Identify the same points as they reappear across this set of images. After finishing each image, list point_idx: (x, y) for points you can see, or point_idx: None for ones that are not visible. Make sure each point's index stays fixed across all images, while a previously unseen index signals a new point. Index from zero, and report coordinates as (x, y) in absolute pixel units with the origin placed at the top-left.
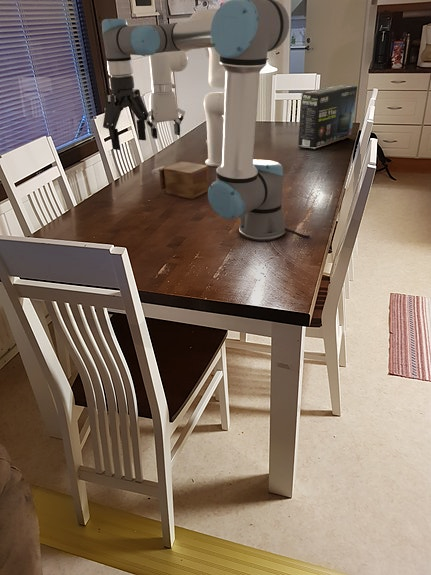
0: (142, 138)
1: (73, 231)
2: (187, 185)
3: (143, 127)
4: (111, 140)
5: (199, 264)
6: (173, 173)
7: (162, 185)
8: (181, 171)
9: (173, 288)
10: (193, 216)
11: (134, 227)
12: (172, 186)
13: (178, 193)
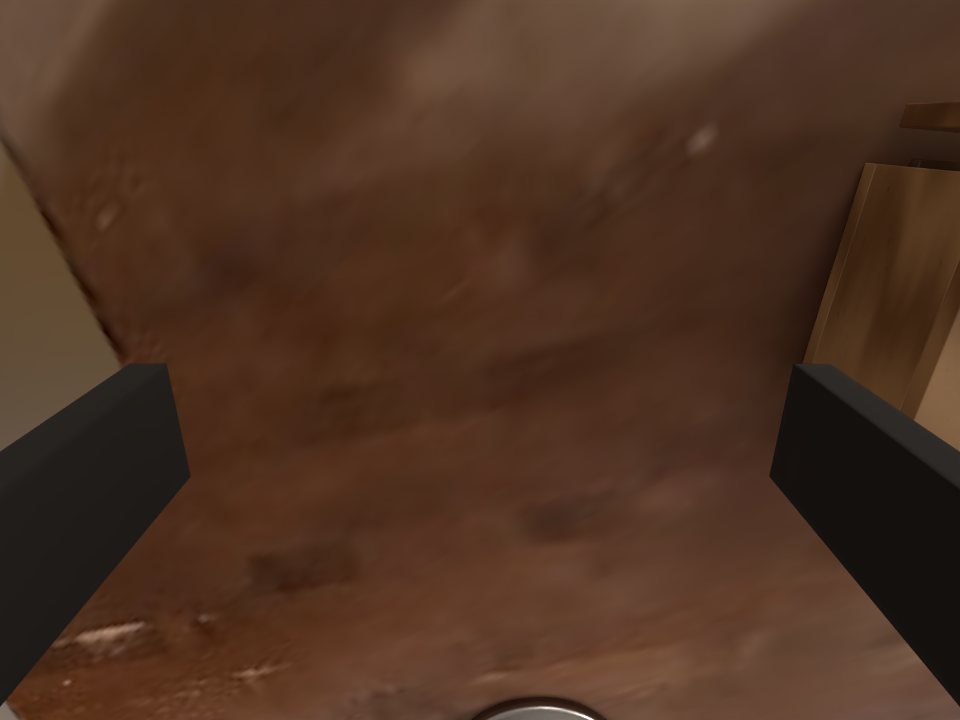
0: (792, 452)
1: (69, 31)
2: (854, 375)
3: (905, 632)
4: (34, 431)
5: (213, 702)
6: (945, 279)
7: (920, 123)
8: (934, 370)
9: (49, 709)
10: (570, 497)
11: (319, 327)
12: (881, 235)
13: (840, 275)
